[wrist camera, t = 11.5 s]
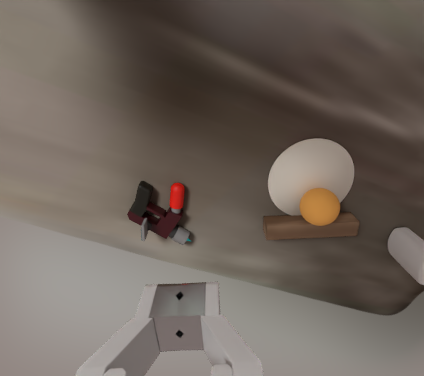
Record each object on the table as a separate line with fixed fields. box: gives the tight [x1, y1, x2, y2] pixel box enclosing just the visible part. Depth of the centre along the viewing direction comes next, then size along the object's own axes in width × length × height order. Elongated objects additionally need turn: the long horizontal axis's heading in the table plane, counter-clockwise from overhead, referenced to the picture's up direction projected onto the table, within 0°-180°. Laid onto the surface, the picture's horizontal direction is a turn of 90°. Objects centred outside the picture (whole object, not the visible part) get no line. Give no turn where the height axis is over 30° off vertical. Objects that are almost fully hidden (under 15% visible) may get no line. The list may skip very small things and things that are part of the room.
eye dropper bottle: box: [388, 227, 424, 285], centre depth 40 cm, size 4×6×12 cm
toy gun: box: [127, 181, 191, 245], centre depth 40 cm, size 10×12×5 cm
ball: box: [299, 188, 340, 226], centre depth 39 cm, size 6×6×6 cm
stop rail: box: [263, 212, 360, 240], centre depth 42 cm, size 2×14×3 cm, turn 93°
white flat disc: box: [268, 138, 354, 216], centre depth 40 cm, size 13×13×1 cm
